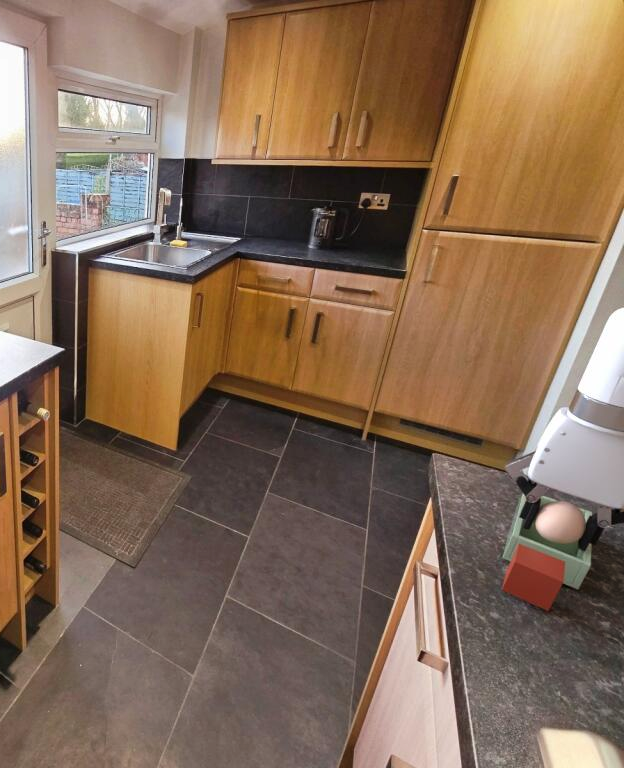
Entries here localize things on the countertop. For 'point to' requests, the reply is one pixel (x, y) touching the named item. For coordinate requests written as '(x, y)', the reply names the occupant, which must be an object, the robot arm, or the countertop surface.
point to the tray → (549, 546)
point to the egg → (560, 522)
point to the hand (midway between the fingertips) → (553, 533)
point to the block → (534, 577)
